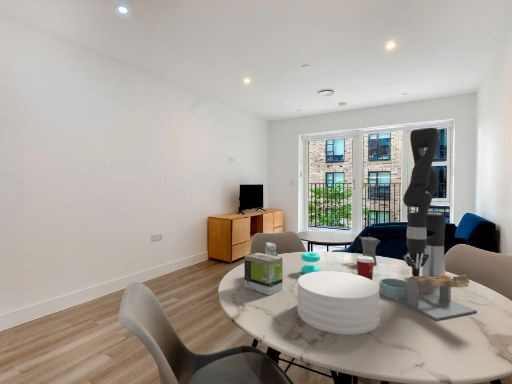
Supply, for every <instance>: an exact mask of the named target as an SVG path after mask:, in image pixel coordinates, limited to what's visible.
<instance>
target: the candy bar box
mask: <svg viewBox="0 0 512 384" xmlns="http://www.w3.org/2000/svg"><path fill="white" fill-rule="evenodd" d="M264 247H265V253H264V254H268V255H273V256H278V246H277V245H276V243H275V242H271V241H269V242H265V245H264Z"/></svg>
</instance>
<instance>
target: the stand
mask: <svg viewBox="0 0 512 384" xmlns="http://www.w3.org/2000/svg"><path fill="white" fill-rule="evenodd" d="M447 276H448V278H452V276H450V275H447ZM407 278H408V296H407V298H402V299H396V302H397V303H399V304H401V305H403V306H405V307H408V308H409V309H411V310H414V311H415V312H417V313H419V314H421V315H424V316H426V317H428V318H430V319H432V320H434V321H436V322H437V321H443V320H445V319H446V320H447V319H452V318H456V317H461V315H462V316H465V314H467V315H471V314H470V313H472V314H475V313H474V312H477V313H478V310H477V309H475V308H472V307H469V306H467V305H464V304H462V303H459V302H457V301H453V300H452V299H451V298H452V297H451V296H452V287H445V286H439V295H438V294H436V293H429V294H421V295H419V281H417V280H414V279H411V278H410V277H407Z"/></svg>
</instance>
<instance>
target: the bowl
mask: <svg viewBox="0 0 512 384" xmlns="http://www.w3.org/2000/svg"><path fill="white" fill-rule="evenodd" d="M378 286H379V294H381V295H382V296H384V297H387V298H390V299H395V300H397V299H402V298H407V296H408V283H407V281H405V279H404V280H403V279H398V278H390V277H389V278H388V277H386V278H382V279H380V280H379V284H378Z"/></svg>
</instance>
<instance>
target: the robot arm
mask: <svg viewBox="0 0 512 384" xmlns="http://www.w3.org/2000/svg"><path fill="white" fill-rule="evenodd" d="M439 139H440V134H439V129H438V128H437V127H436V126H430V127H423V128H415V129H413V130H411V132H410V135H409V141H410V147H411V153H412V159H413V163H414V166H413V168H412V171H411V176H410V181H409V185H408V187H407V189H406V191H405V192H404V194H403V198H402V201H403V204H404V205H405V206H406V207H408V208H418V211H415V212H410V213H408V215H407V226H406V227H407V228H406V247H407V250H406V251H407V252H406V255H402V259H403V260H404V261H405V263H406V264H407V266H408V267H410V268H411V276H414V277H415V276H417V277H419V276H420V272H421V276H424V277H436V278H438V277H439V275H440V274H446V260H445V232H446V230H445V229H446V216H445V215H444V213H441V212H433V211H432V212H429V209H430V206H431V203H432V201H433V196H435V194H436V193H437V191H438V189H439V177H438V173H437V171H436V170H435V168H434V167H433V166H432V164H433V161H434V158H435V155H436V152H437V148H438V146H439ZM422 149H426V151H425V152H424V153H423V152H422ZM427 231H430V232H431V231H432V232H434V234H432V235H430V236H427V233H428V232H427Z"/></svg>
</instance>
